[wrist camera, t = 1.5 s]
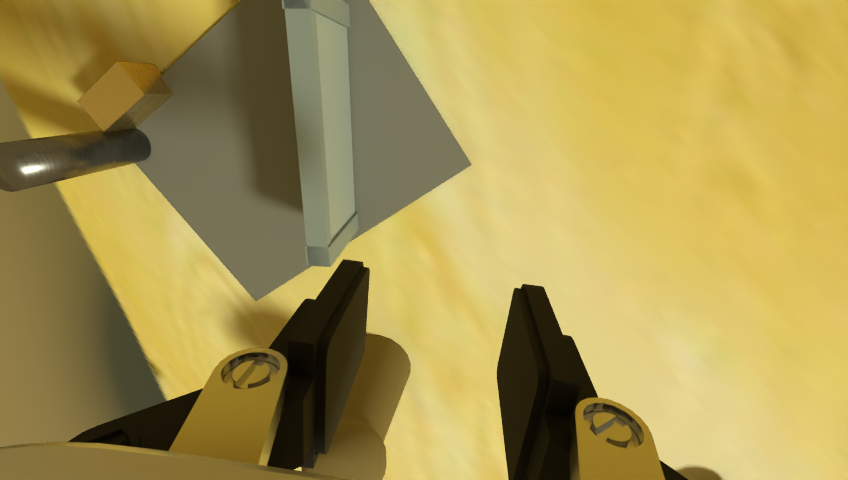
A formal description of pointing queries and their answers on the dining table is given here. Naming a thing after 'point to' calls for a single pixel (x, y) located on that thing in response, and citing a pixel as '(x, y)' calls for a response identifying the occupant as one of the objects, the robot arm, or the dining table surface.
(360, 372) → the cork
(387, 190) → the mat
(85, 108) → the stile
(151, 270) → the dining table surface
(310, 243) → the gate
